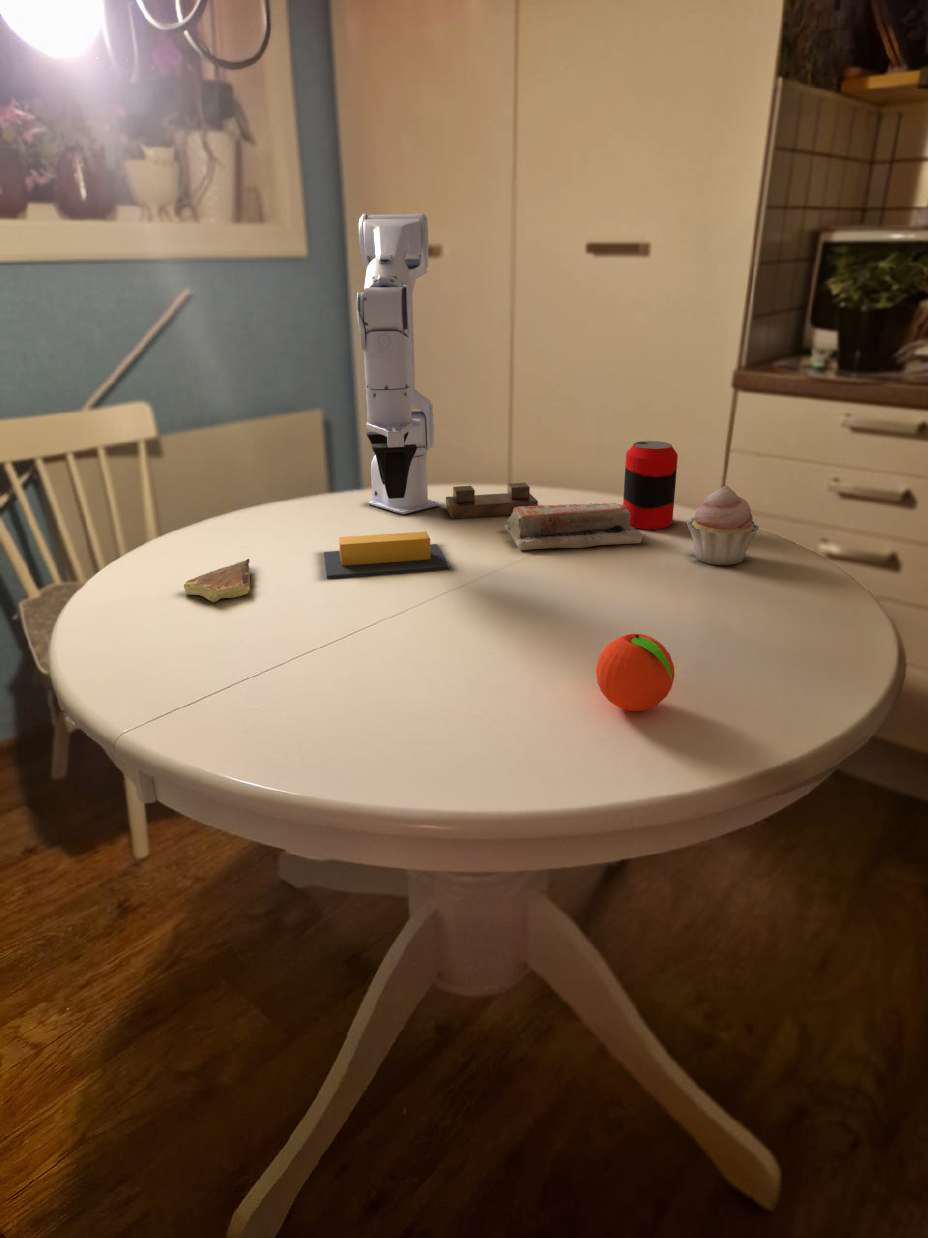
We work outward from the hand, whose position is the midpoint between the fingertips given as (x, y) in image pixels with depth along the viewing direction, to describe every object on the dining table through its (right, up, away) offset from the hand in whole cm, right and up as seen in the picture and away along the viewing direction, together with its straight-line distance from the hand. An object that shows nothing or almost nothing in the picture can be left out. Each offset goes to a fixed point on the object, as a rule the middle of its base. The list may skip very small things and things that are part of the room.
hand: (393, 490), depth 116 cm
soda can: (+38, -3, +17) cm, 41 cm away
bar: (-1, -9, +1) cm, 9 cm away
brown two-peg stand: (+14, 0, +24) cm, 28 cm away
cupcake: (+44, -9, +1) cm, 45 cm away
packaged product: (+25, -6, +10) cm, 28 cm away
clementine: (+25, -26, -38) cm, 52 cm away
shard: (-21, -13, -7) cm, 26 cm away
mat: (-1, -10, +1) cm, 10 cm away
